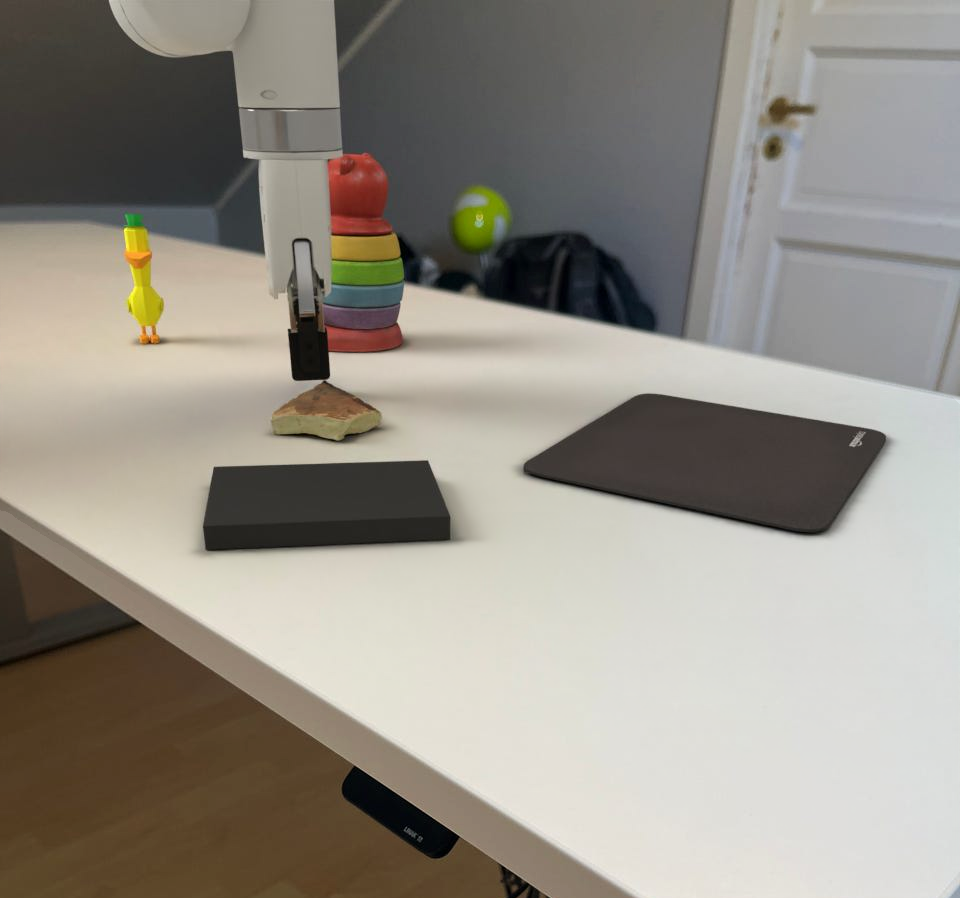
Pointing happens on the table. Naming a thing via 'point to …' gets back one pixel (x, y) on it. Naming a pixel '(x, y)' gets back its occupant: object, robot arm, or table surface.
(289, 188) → the robot arm
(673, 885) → the table surface
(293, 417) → the shard
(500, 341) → the table surface
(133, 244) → the toy figure
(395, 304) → the stacking bear
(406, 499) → the black rectangular block
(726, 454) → the mouse pad
